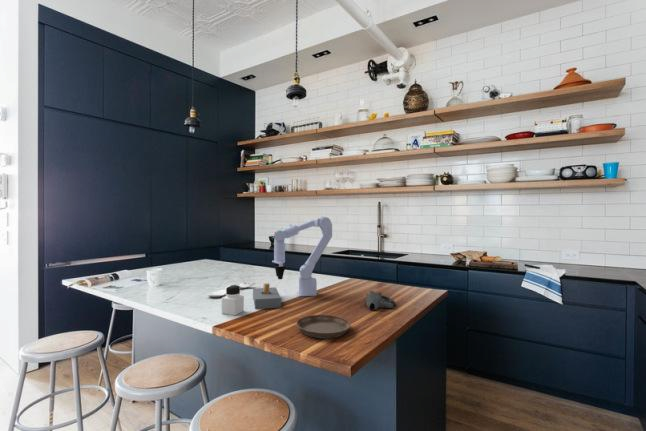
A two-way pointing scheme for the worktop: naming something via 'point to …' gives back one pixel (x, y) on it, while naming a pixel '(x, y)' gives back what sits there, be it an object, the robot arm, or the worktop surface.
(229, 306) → the medicine bottle
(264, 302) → the hole block
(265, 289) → the peg
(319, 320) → the plant saucer
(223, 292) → the spoon
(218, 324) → the worktop surface
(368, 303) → the grey tapered shape
